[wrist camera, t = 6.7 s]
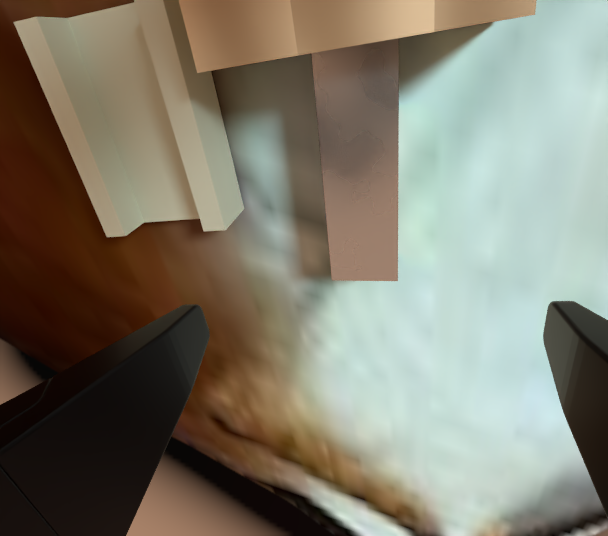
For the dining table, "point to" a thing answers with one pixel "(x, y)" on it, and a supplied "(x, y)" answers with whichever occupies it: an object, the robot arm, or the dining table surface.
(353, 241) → the pinkish brown square bar
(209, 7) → the tan u-shaped block
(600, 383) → the robot arm
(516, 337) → the dining table surface
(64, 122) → the cradle
